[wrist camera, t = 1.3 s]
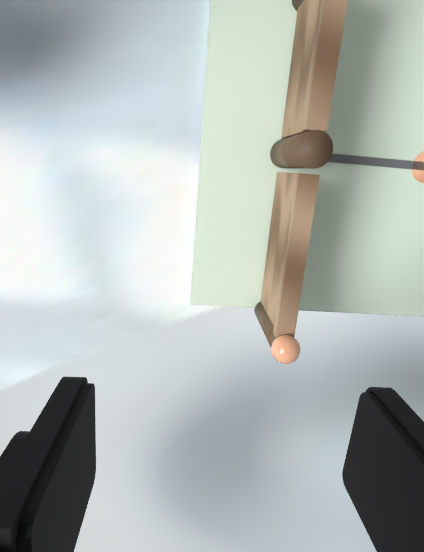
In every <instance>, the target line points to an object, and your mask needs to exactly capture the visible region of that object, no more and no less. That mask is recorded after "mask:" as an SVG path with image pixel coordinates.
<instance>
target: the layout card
mask: <svg viewBox="0 0 424 552" xmlns="http://www.w3.org/2000/svg"><path fill="white" fill-rule="evenodd" d="M296 18H297V11H296V10H295V9H294V7H293V5H292V0H210V15H209V30H208V45H207V60H206V74H205V89H204V104H203V119H202V134H201V148H200V163H199V178H198V193H197V208H196V222H195V237H194V252H193V267H192V282H191V296H190V305H208V306H228V307H247V308H255V306H256V305H257V304H258V303H259V302H260V301H261V294H262V286H263V278H264V270H265V262H266V254H267V246H268V238H269V231H270V223H271V215H272V207H273V199H274V191H275V183H276V175H277V172H286V173H303V174H315V175H320V178H319V184H318V191H317V197H316V203H315V209H314V216H313V222H312V228H311V234H310V241H309V247H308V253H307V259H306V266H305V272H304V278H303V284H302V291H301V297H300V303H299V309H298V310H305V311H327V312H344V313H345V312H346V313H364V314H384V315H403V316H404V315H405V316H422V317H424V0H348V3H347V9H346V16H345V22H344V28H343V34H342V41H341V47H340V53H339V59H338V66H337V72H336V78H335V84H334V91H333V97H332V103H331V109H330V116H329V122H328V128H327V131H326V133H327V134H328V135H329V136H330V138H331V139H332V142H333V153H332V156H331V158H330V160H329V161H328V162H327V163H326V164H325V165H324V166H322V167H320V168H315V169H309V168H279V167H277V166H275V165H274V164H273V163H272V161H271V158H270V151H271V148H272V146H273V144H274V143H275V142H277V141H278V140H281V139H284V138H281V136H282V128H283V120H284V112H285V104H286V97H287V89H288V81H289V73H290V65H291V57H292V49H293V41H294V34H295V26H296Z"/></svg>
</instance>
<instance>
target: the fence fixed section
mask: <svg viewBox="0 0 424 552" xmlns="http://www.w3.org/2000/svg"><path fill="white" fill-rule="evenodd" d="M347 3H348V0H292V5H293V7H294V9H295V10H296V11H297V18H296V26H295V34H294V41H293V49H292V57H291V65H290V73H289V81H288V89H287V97H286V104H285V112H284V120H283V128H282V136H281V138H284V139H281V140H278V141H277V142H275V143H274V144H273V146H272V148H271V151H270V158H271V161H272V163H273V164H274V165H275V166H277V167H279V168H309V169H315V168H320V167H322V166H324V165H325V164H326V163H327V162H328V161H329V160H330V158H331V156H332V153H333V142H332V139H331V138H330V136H329V135H328V134H327V133H326V131H327V128H328V122H329V116H330V109H331V103H332V97H333V91H334V84H335V78H336V72H337V66H338V59H339V53H340V47H341V41H342V34H343V28H344V22H345V16H346V9H347Z"/></svg>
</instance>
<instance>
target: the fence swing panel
mask: <svg viewBox="0 0 424 552" xmlns="http://www.w3.org/2000/svg"><path fill="white" fill-rule="evenodd" d="M319 178H320V175H315V174H303V173H286V172H277V175H276V183H275V191H274V199H273V207H272V215H271V223H270V231H269V238H268V246H267V254H266V262H265V270H264V278H263V286H262V294H261V301H260V302H259V303H258V304H257V305H256V306H255V314H256V316H257V318H258V321H259V323H260V325H261V327H262V329H263V331H264V334H265V335H266V338H267V340H268V342H269V344H270V346H271V351H272V355H273V356H274V358H275V359H276V360H277V361H278V362H280V363H283V364H289V363H292V362H294V361H295V360H296V359H297V358H298V357H299V354H300V345H299V343H298V341H297V340H296V339H295V338H294V334H295V328H296V322H297V316H298V309H299V303H300V297H301V291H302V284H303V278H304V272H305V266H306V259H307V253H308V247H309V241H310V234H311V228H312V222H313V216H314V209H315V203H316V197H317V191H318V184H319Z"/></svg>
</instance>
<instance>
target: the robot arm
mask: <svg viewBox="0 0 424 552" xmlns="http://www.w3.org/2000/svg"><path fill="white" fill-rule="evenodd" d="M95 446H96V444H95V387H94V384H90V383H88V382H87V378H86V377H63V378H62V379H61V380H60V382H59V383H58V385H57V387H56V388H55V390H54V392H53V394H52V395H51V397H50V399H49V400H48V402H47V404H46V406H45V407H44V409H43V411H42V412H41V414H40V415H39V417H38V419H37V421H36V422H35V424H34V426H33V427H32V429H31V431H30V432H27V431H26V432H25V431H19V432H18V433H16V434H15V435H14V437H13V438H12V439H11V441H10V442H9V444H8V446H7V447H6V449H5V450H4V452H3V453H2V455H1V456H0V552H74V549H75V545H76V542H77V538H78V535H79V532H80V528H81V525H82V521H83V518H84V515H85V511H86V508H87V504H88V501H89V498H90V494H91V491H92V487H93V484H94V479H95V472H96V447H95ZM343 481H344V485H345V487H346V490H347V492H348V494H349V496H350V498H351V500H352V502H353V504H354V506H355V508H356V510H357V512H358V514H359V516H360V518H361V520H362V522H363V524H364V526H365V528H366V530H367V532H368V534H369V536H370V538H371V540H372V543H373V545H374V547H375V549H376V551H377V552H424V422H423V421H422V420H421V419H420V417H419V416H418V415H417V414H416V413H415V412H414V411H413V410H412V409H411V408H410V407H409V405H408V404H407V403H406V402H405V401H404V400H403V399H402V398H401V397H400V396H399V395H398V394H397V393H396V392H395V390H393V389H392V388H381V387H370V388H368V389H367V390H366V392H364V393H362V394H361V395H360V398H359V403H358V407H357V411H356V416H355V420H354V424H353V429H352V433H351V438H350V442H349V446H348V450H347V455H346V459H345V463H344V468H343Z"/></svg>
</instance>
